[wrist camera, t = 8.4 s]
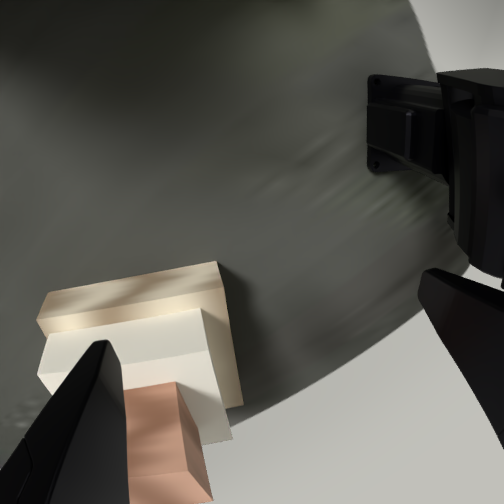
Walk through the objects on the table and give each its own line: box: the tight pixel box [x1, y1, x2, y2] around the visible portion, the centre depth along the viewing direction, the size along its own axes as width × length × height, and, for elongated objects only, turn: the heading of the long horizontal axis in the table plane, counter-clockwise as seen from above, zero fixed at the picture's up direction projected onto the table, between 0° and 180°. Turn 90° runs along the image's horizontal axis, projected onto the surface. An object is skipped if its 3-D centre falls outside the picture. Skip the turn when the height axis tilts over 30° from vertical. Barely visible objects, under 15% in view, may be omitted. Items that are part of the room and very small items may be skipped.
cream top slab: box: [37, 308, 233, 445], centre depth 19 cm, size 10×10×4 cm
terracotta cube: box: [123, 381, 213, 504], centre depth 15 cm, size 6×6×6 cm
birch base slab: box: [36, 261, 244, 409], centre depth 22 cm, size 12×12×4 cm
